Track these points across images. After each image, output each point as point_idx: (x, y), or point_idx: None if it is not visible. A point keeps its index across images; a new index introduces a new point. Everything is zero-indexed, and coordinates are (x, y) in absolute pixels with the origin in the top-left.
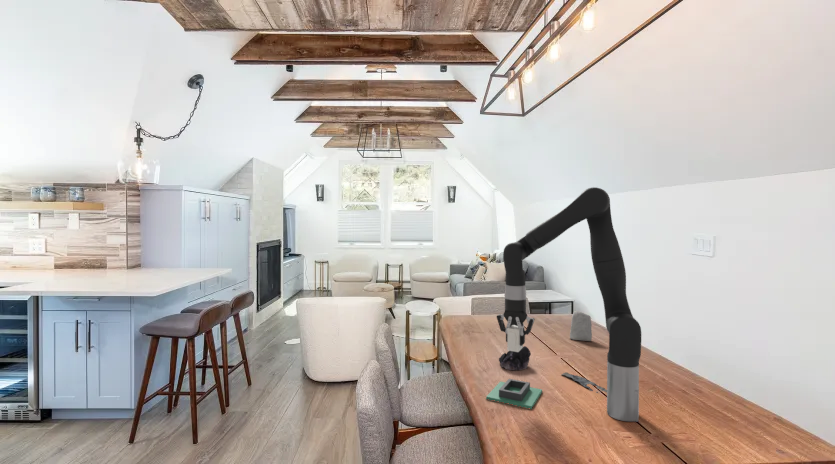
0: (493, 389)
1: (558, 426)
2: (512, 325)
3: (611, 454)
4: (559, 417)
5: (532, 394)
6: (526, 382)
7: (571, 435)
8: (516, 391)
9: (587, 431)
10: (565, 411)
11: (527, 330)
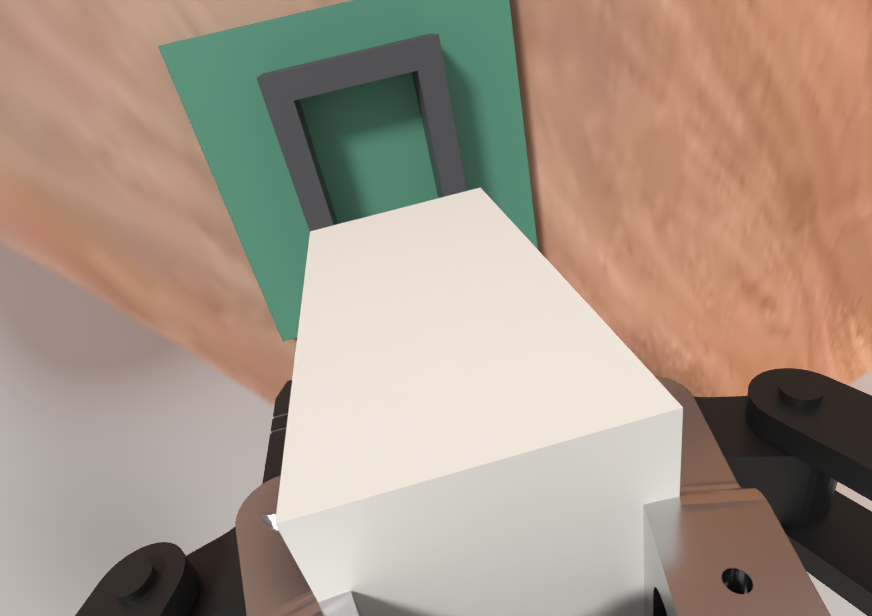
0: (239, 228)
1: (683, 325)
2: (354, 584)
3: (860, 368)
4: (674, 249)
5: (483, 115)
6: (415, 53)
7: (737, 352)
8: (375, 147)
9: (793, 283)
10: (692, 164)
11: (835, 555)
